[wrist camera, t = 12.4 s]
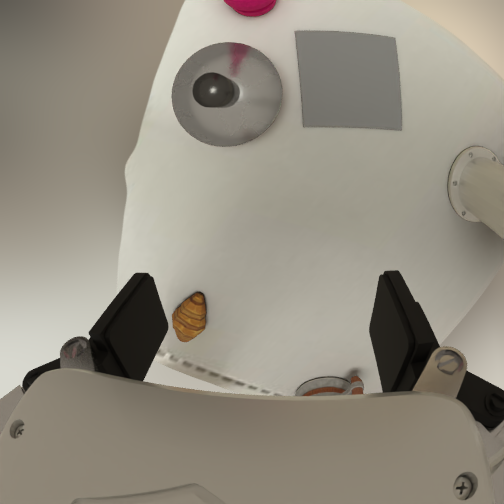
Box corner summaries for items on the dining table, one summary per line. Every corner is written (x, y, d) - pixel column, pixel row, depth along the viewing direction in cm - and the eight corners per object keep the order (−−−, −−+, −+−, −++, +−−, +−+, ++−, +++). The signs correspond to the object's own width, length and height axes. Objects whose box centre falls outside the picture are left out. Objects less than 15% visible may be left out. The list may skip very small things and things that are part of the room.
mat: (394, 38, 26) (395, 37, 26) (400, 130, 33) (401, 130, 32) (294, 31, 28) (294, 30, 28) (303, 126, 35) (303, 126, 35)
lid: (277, 39, 26) (273, 21, 19) (286, 141, 32) (285, 149, 25) (171, 55, 28) (144, 45, 21) (181, 150, 34) (157, 161, 27)
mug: (284, 397, 63) (280, 449, 50) (334, 355, 54) (339, 417, 41) (328, 411, 65) (329, 459, 52) (380, 373, 56) (390, 428, 43)
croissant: (183, 282, 50) (174, 299, 46) (218, 297, 50) (212, 315, 46) (169, 328, 56) (161, 345, 52) (198, 341, 57) (192, 358, 53)
